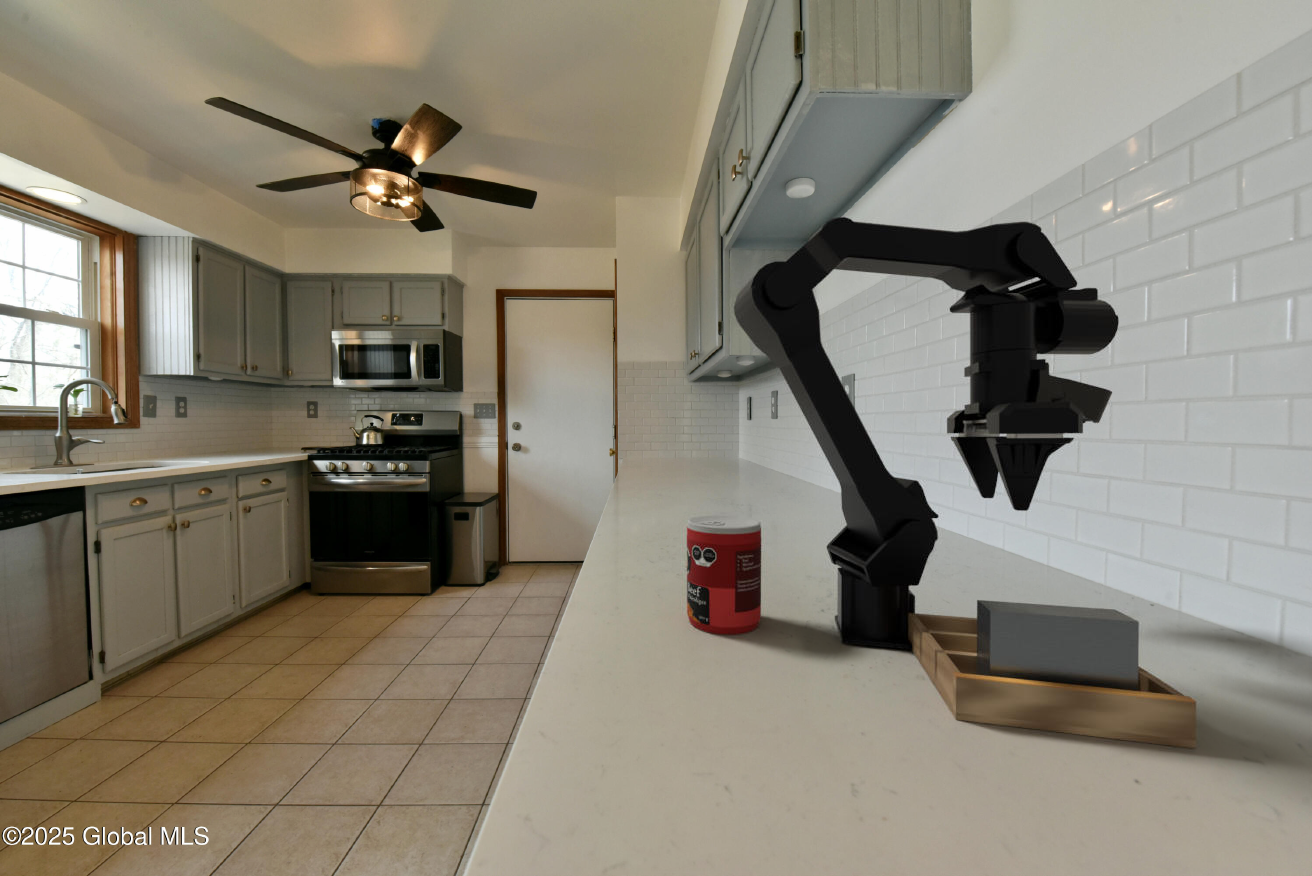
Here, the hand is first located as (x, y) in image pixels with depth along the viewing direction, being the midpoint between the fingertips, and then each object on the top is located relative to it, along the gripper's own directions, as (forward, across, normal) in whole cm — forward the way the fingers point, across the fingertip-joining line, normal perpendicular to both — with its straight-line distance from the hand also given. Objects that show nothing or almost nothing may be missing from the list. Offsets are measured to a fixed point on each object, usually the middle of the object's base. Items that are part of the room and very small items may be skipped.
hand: (1002, 503), depth 52 cm
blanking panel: (+12, -17, +2) cm, 21 cm away
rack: (+13, -13, +3) cm, 19 cm away
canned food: (+13, -7, +28) cm, 32 cm away
